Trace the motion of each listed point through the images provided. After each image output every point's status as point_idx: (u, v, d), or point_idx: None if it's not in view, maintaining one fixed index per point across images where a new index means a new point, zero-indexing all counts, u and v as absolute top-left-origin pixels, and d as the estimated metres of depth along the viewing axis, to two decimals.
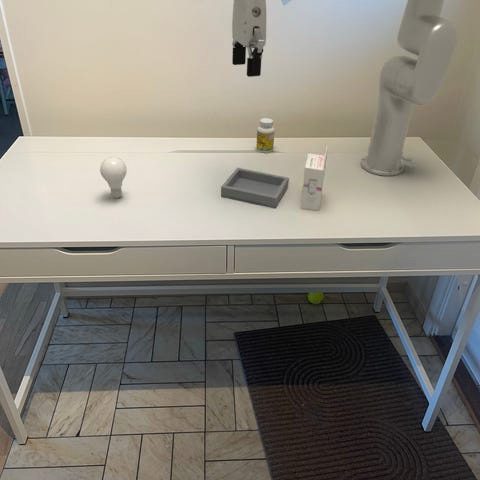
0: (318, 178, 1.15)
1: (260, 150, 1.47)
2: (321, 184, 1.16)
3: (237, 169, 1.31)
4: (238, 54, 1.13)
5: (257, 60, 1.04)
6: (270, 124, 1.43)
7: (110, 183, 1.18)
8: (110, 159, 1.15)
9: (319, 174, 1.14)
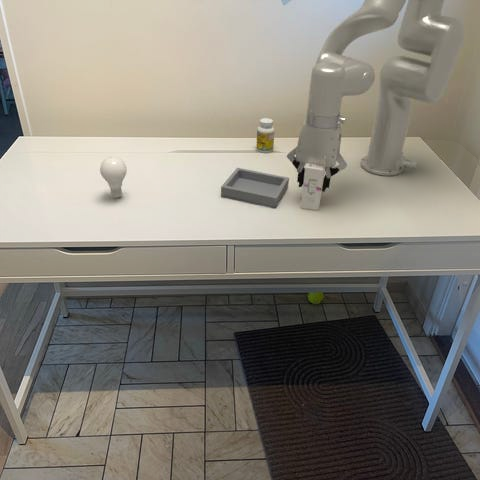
0: (318, 178, 1.15)
1: (260, 150, 1.47)
2: (321, 184, 1.16)
3: (237, 169, 1.31)
4: (303, 177, 1.20)
5: (330, 177, 1.18)
6: (270, 124, 1.43)
7: (110, 183, 1.18)
8: (110, 159, 1.15)
9: (319, 173, 1.14)
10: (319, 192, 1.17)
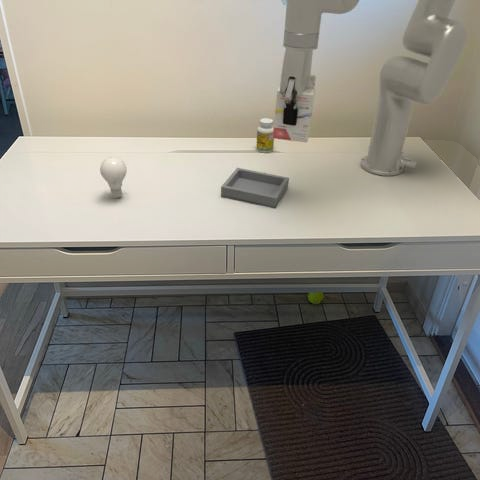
0: (313, 100, 1.10)
1: (260, 150, 1.47)
2: None
3: (237, 169, 1.31)
4: None
5: None
6: (270, 124, 1.43)
7: (110, 183, 1.18)
8: (110, 159, 1.15)
9: None
10: None
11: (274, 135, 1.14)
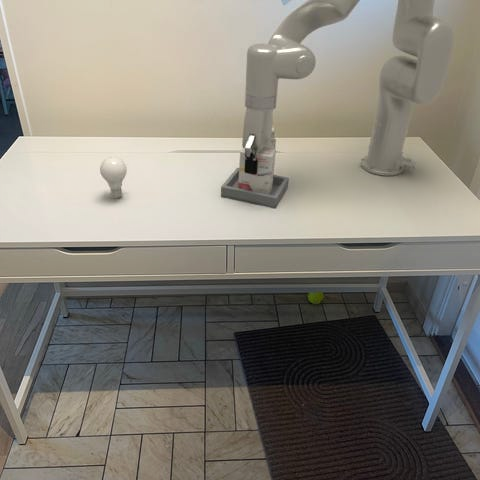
0: (274, 159, 1.21)
1: None
2: (274, 163, 1.23)
3: (237, 169, 1.31)
4: None
5: None
6: None
7: (110, 183, 1.18)
8: (110, 159, 1.15)
9: (274, 155, 1.20)
10: (273, 171, 1.24)
11: None
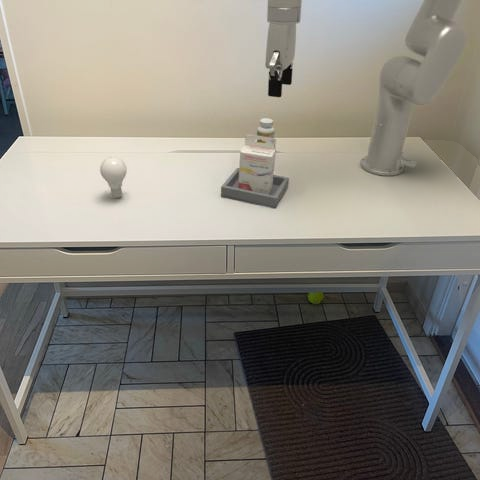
0: (274, 159, 1.21)
1: None
2: (274, 163, 1.23)
3: (237, 169, 1.31)
4: None
5: None
6: (270, 124, 1.43)
7: (110, 183, 1.18)
8: (110, 159, 1.15)
9: (274, 155, 1.20)
10: (273, 171, 1.24)
11: None
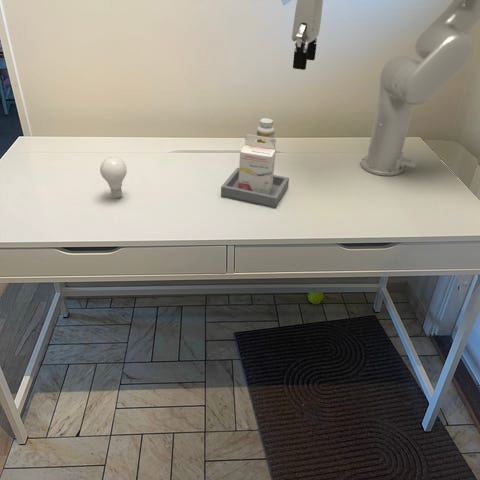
0: (274, 159, 1.21)
1: None
2: (274, 163, 1.23)
3: (237, 169, 1.31)
4: None
5: None
6: (270, 124, 1.43)
7: (110, 183, 1.18)
8: (110, 159, 1.15)
9: (274, 155, 1.20)
10: (273, 171, 1.24)
11: None
